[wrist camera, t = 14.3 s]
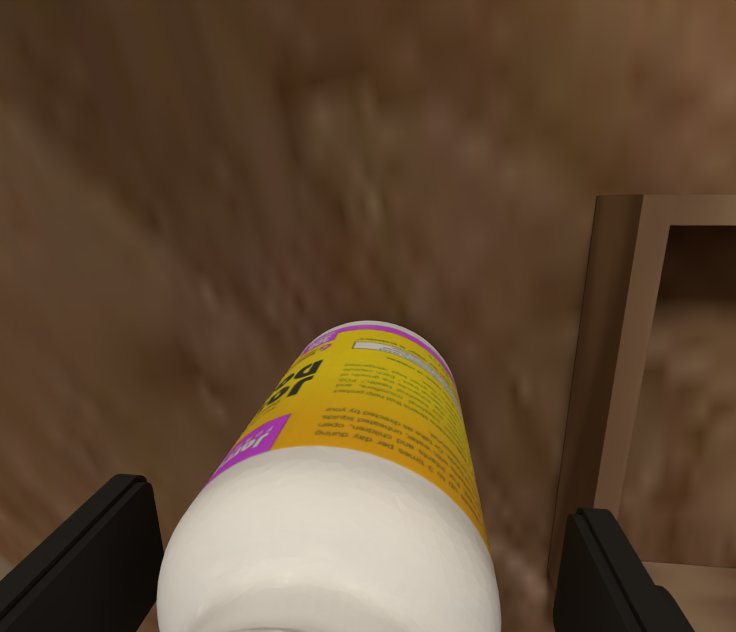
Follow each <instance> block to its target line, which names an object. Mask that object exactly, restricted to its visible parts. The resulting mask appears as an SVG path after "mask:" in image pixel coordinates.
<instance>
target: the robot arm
mask: <svg viewBox="0 0 736 632" xmlns="http://www.w3.org/2000/svg"><path fill="white" fill-rule="evenodd" d="M163 557H164V551H163V545H162V540H161V534H160V528H159V522H158V516H157V511H156V505H155V499H154V493H153V488H152V485H151V484H150V483H147V480H146V478H145V477H144V476H141V475H129V474H117V475H115V476H114V477H112V478H111V479H110V480H109V481H108V482H107V483H106V484H105V485H104V486H102V487H101V488H100V489H99V490H98V491H97V492H96V493H95V494H94V495H93V496H92V497H91V498H90V499H88V500H87V501H86V502H85V503H84V504H83V505H82V506H81V507H80V508H79V509H78V510H77V511H75V512H74V513H73V514H72V515H71V516H70V517H69V518H68V519H67V520H66V521H65V522H64V523H62V524H61V525H60V526H59V527H58V528H57V529H56V530H55V531H54V532H53V533H52V534H51V535H50V536H48V537H47V538H46V539H45V540H44V541H43V542H42V543H41V544H40V545H39V546H38V547H37V548H35V549H34V550H33V551H32V552H31V553H30V554H29V555H28V556H27V557H26V558H25V559H24V560H23V561H21V562H20V563H19V564H18V565H17V566H16V567H15V568H14V569H13V570H12V571H11V572H10V573H9V574H7V575H6V576H5V577H4V578H3V579H2V580H1V581H0V632H136V631H137V629H138V628H139V626H140V625H141V623H142V622H143V620H144V619H145V617H146V616H147V614H148V612H149V611H150V609H151V608H152V606H153V605H154V603H155V602H156V600H157V588H158V579H159V574H160V569H161V564H162V561H163ZM553 621H554V628H555V632H695V631H694V629H693V628H692V626H691V624H690V623H689V621H688V620H687V618H686V616H685V615H684V613H683V612H682V610H681V609H680V607H679V605H678V604H677V602H676V601H675V599H674V598H673V596H672V595H671V594H670V592H669V591H668V590H667V589H665V588H664V587H663V586H659V585H655V584H654V582H653V580H652V579H651V577H650V575H649V574H648V572H647V570H646V569H645V567H644V565H643V564H642V562H641V560H640V559H639V557H638V555H637V554H636V552H635V551H634V549H633V547H632V546H631V544H630V542H629V541H628V539H627V537H626V536H625V534H624V532H623V531H622V529H621V527H620V526H619V524H618V522H617V521H616V519H615V517H614V516H613V514H612V513H611V512H610V511H609V510H608V509H598V508H584V507H579V508H578V509H577V510H576V513H575V514H569V515H568V516H567V521H566V528H565V534H564V541H563V548H562V555H561V561H560V568H559V575H558V581H557V588H556V595H555V601H554V608H553Z"/></svg>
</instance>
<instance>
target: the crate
mask: <svg viewBox="0 0 736 632" xmlns="http://www.w3.org/2000/svg"><path fill="white" fill-rule="evenodd" d="M670 225H736V194H699V195H612V196H597V201H596V208H595V216H594V223H593V231H592V238H591V246H590V253H589V261H588V268H587V276H586V284H585V291H584V299H583V306H582V314H581V321H580V329H579V336H578V344H577V351H576V359H575V366H574V374H573V381H572V389H571V396H570V404H569V411H568V419H567V426H566V434H565V441H564V449H563V456H562V464H561V472H560V479H559V487H558V494H557V502H556V509H555V517H554V524H553V532H552V539H551V547H550V554H549V562H548V569H547V570H548V572H549V575H550V578H551V581H552V583H553V586H554V589H555V592H556V588H557V581H558V575H559V568H560V561H561V555H562V548H563V541H564V534H565V528H566V521H567V516H568V515H569V514H575V513H576V510H577V509H578V508H579V507H584V508H598V509H608V510H609V511H610V512H611V513H612V514H613V516H614V517H615V519H616V521H617V517H618V512H619V506H620V501H621V495H622V490H623V484H624V478H625V473H626V467H627V462H628V456H629V451H630V445H631V440H632V434H633V428H634V423H635V417H636V412H637V406H638V401H639V395H640V390H641V384H642V378H643V373H644V367H645V362H646V356H647V351H648V345H649V340H650V334H651V328H652V323H653V317H654V312H655V306H656V301H657V295H658V289H659V284H660V278H661V273H662V267H663V262H664V256H665V251H666V245H667V239H668V234H669V228H670ZM641 562H642V564H643V565H644V567H645V569H646V570H647V572H648V574H649V575H650V577H651V579H652V580H653V582H654V584H655V585H659V586H663V587H664V588H665V589H667V590H668V591H669V592H670V594H671V595H672V596H673V598H674V599H675V601H676V602H677V604H678V605H679V607H680V609H681V610H682V612H683V613H684V615H685V616H686V618H687V620H688V621H689V623H690V624H691V626H692V628H693V629H694V631H695V632H736V568H723V567H709V566H696V565H683V564H670V563H656V562H643V561H641Z"/></svg>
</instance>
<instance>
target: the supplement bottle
mask: <svg viewBox="0 0 736 632" xmlns="http://www.w3.org/2000/svg"><path fill="white" fill-rule="evenodd" d="M157 614H158V624H159V629H160V632H501V609H500V600H499V592H498V587H497V582H496V577H495V571H494V565H493V560H492V556H491V551H490V547H489V543H488V538H487V534H486V529H485V524H484V520H483V515H482V510H481V505H480V500H479V494H478V490H477V485H476V481H475V475H474V469H473V466H472V460H471V456H470V450H469V446H468V441H467V436H466V431H465V427H464V422H463V416H462V411H461V406H460V400H459V397H458V393H457V389H456V385H455V382H454V379H453V376H452V373H451V371H450V369H449V368H448V366H447V364H446V362H445V361H444V359H443V358H442V357H441V355H440V354H439V353H438V352H437V351H436V349H435V348H434V347H433V346H432V345H431V344H429V343H428V342H427V341H426V340H425V339H424V338H422V337H420V336H419V335H417V334H416V333H414V332H412V331H410V330H408V329H406V328H403V327H401V326H398V325H395V324H391V323H387V322H380V321H357V322H350V323H347V324H343V325H340V326H337V327H334V328H332V329H330V330H328V331H326V332H325V333H323V334H321V335H320V336H318V337H317V338H316V339H315V340H313V341H312V342H311V343H310V344H309V345H308V346H307V347H306V348H305V350H304V351H303V352H302V353H301V355H300V356H299V357H298V358H297V359H296V361H295V362H294V363H293V365H292V366H291V368H290V369H289V370H288V372H287V373H286V374H285V376H284V377H283V378H282V380H281V381H280V383H279V384H278V385H277V387H276V388H275V389H274V390H273V392H272V393H271V395H270V396H269V397H268V399H267V401H266V402H265V404H264V405H263V406H262V408H261V409H260V410H259V411H258V413H257V414H256V415H255V417H254V418H253V419H252V421H251V422H250V424H249V425H248V427H247V428H246V430H245V431H244V432H243V434H242V435H241V437H240V438H239V439H238V441H237V442H236V444H235V445H234V446H233V448H232V449H231V451H230V452H229V453H228V455H227V456H226V458H225V459H224V460H223V462H222V463H221V465H220V466H219V467H218V469H217V470H216V471H215V473H214V474H213V476H212V477H211V478H210V480H209V481H208V482H207V484H206V485H205V486H204V488H203V489H202V490H201V492H200V493H199V494H198V496H197V497H196V499H195V500H194V501H193V503H192V504H191V505H190V507H189V508H188V510H187V511H186V513H185V514H184V516H183V517H182V518H181V520H180V522H179V524H178V525H177V527H176V529H175V530H174V532H173V534H172V536H171V539H170V541H169V543H168V545H167V548H166V551H165V554H164V557H163V561H162V564H161V569H160V574H159V579H158V588H157Z"/></svg>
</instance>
